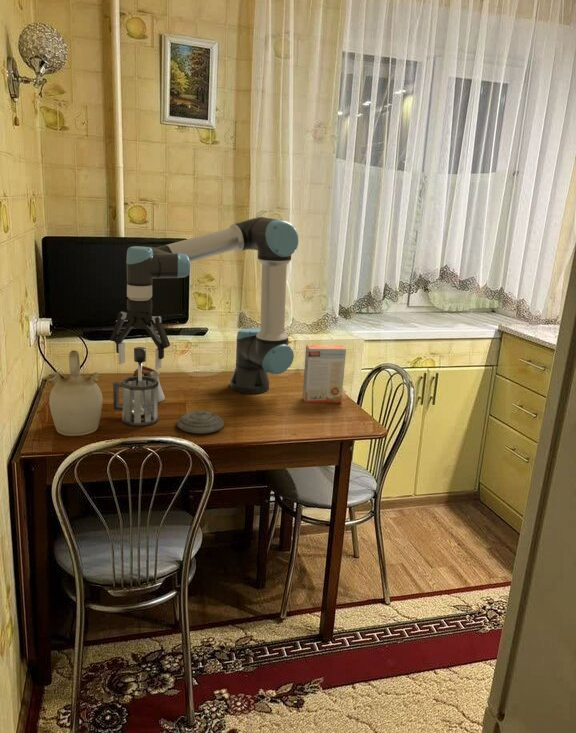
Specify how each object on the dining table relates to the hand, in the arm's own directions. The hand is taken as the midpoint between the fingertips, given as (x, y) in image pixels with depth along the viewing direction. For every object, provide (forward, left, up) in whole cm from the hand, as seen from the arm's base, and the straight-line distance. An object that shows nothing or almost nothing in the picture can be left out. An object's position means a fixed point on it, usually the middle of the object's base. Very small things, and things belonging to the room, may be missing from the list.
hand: (140, 365), depth 191 cm
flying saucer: (-20, -2, -19) cm, 28 cm away
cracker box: (-52, -43, -19) cm, 70 cm away
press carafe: (+2, 0, -18) cm, 18 cm away
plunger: (0, 0, -15) cm, 15 cm away
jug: (+14, +14, -19) cm, 27 cm away
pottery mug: (+14, -32, -19) cm, 40 cm away
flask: (+4, -19, -19) cm, 27 cm away
